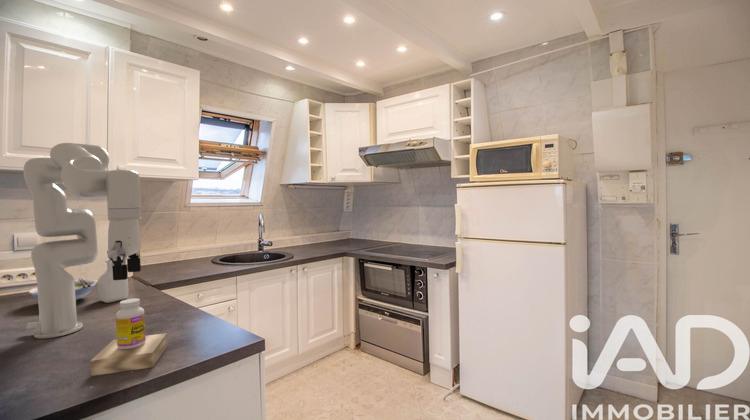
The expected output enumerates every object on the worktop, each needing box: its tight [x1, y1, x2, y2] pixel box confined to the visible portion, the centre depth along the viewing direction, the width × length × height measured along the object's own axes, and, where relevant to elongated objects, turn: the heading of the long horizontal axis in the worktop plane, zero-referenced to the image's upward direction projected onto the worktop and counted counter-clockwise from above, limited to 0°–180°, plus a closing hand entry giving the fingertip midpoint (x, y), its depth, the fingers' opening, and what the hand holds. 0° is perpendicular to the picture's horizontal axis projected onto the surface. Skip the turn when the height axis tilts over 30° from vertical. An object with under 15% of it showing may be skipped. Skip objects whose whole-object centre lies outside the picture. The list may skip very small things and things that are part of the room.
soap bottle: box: [96, 250, 129, 304], centre depth 158 cm, size 10×10×23 cm
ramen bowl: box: [28, 277, 98, 301], centre depth 156 cm, size 25×23×8 cm
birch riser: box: [90, 332, 169, 377], centre depth 99 cm, size 14×14×4 cm
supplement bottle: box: [115, 297, 146, 350], centre depth 99 cm, size 7×7×13 cm
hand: (127, 275), depth 98 cm, fingers open, 9 cm apart
